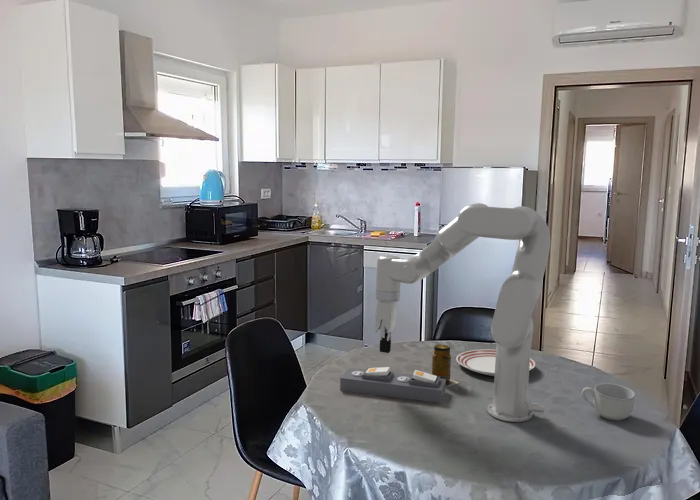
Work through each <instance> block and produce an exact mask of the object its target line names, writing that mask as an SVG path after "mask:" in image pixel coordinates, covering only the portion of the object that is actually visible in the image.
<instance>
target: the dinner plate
mask: <svg viewBox="0 0 700 500" xmlns="http://www.w3.org/2000/svg"><path fill="white" fill-rule="evenodd" d="M495 360H496V349H490V348H489V349H487V348H486V349H485V348H484V349H472V350H467V351H463V352H461V353H458V355H457V356H456V358H455V361H456V363H458V364H459V365H461V366H462V367H464V368H465V369H468V370H469V371H472V372H475V373H477V374H481V375H484V376H488V377H495ZM535 367H536V362H535V360H534V359H532V358H531V357H530V368H529V372H530V371H532V370H533V369H535Z"/></svg>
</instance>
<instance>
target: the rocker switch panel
mask: <svg viewBox="0 0 700 500" xmlns="http://www.w3.org/2000/svg"><path fill="white" fill-rule="evenodd" d="M368 369H369V368H366V369H363V368H362V369H361V368H355V367H349V368H348V369H346V371H345V372H344V373H343V375H341V377H339V378H340V379H339V381H340V383H339V384H340V385H339V388H340V389H339V390H340V391H344V392H353V393H360V394H361V393H362V394H367V395H376V396H384V397H391V398H392V397H393V398H398V399H406V400H413V401H424V402H429V403H436V404H437V403H438V404H442V402H443V398H444V396H445V393H446V388H447V387H446V379H441V378H440V377H437V379H436V381H435V383H432V382H424V381H420V380H417V379H414V378H412V376H413V373H412V374H406V373H397V372H396V373H395V371H392V370H390V372H389V373H388V375H381V376H373V375H366V371H367V370H368Z"/></svg>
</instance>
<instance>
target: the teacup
mask: <svg viewBox="0 0 700 500" xmlns="http://www.w3.org/2000/svg"><path fill="white" fill-rule="evenodd" d="M587 392H590V393H591V394H592V398H593V400H591V399H589V398H588V397H587V396H586V393H587ZM581 397H582V399H583V400H584V401H585V402H586V403H587V404H589V405H590V407H592V408H593V409H595V411H596V412H597V413H598V414H599V415H600V416H601V417H603V418H604V419H607V420H610V421H622V420H625V419H627V418H629V417H630V416H631V415H632V413H633V409H634V405H635V397H636V393H635V391H633V389H630V388H629V387H627V386H624V385H620V384H618V383H617V384H616V383H612V382H611V383H609V382H601V383H598V384H596V385H595V386H594V388H592V387H588V386H587V387H586V386H585V387H584V388H582V390H581Z"/></svg>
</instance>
